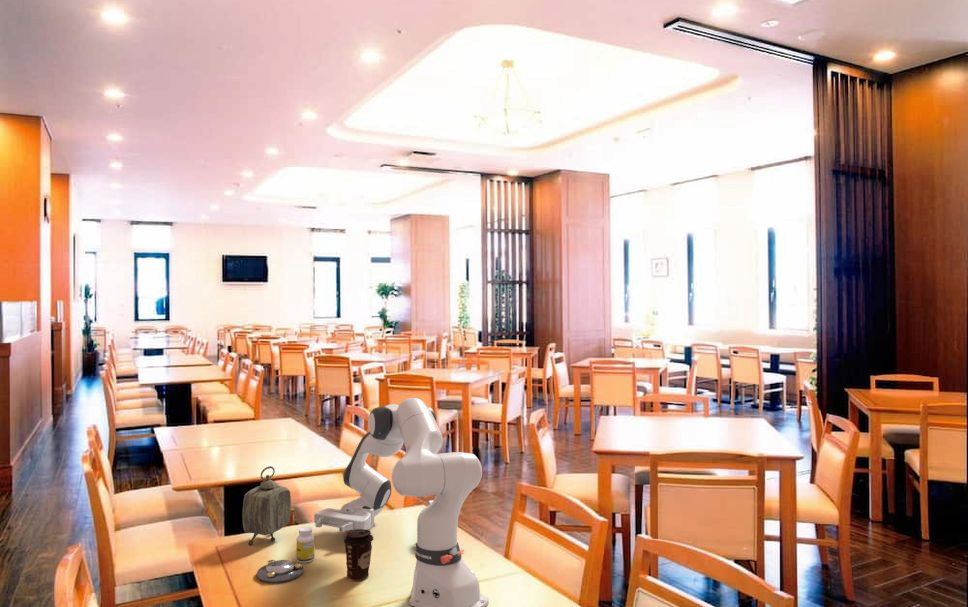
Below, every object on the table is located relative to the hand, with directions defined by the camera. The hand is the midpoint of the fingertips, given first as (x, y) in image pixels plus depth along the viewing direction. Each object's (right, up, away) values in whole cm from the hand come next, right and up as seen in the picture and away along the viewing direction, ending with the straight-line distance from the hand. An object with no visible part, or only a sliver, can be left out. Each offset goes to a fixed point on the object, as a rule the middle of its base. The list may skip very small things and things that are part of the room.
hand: (328, 527), depth 218 cm
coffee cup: (+14, -7, -23) cm, 28 cm away
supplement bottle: (-5, -7, -11) cm, 14 cm away
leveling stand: (-9, -6, -22) cm, 25 cm away
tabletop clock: (-22, -6, +4) cm, 23 cm away
